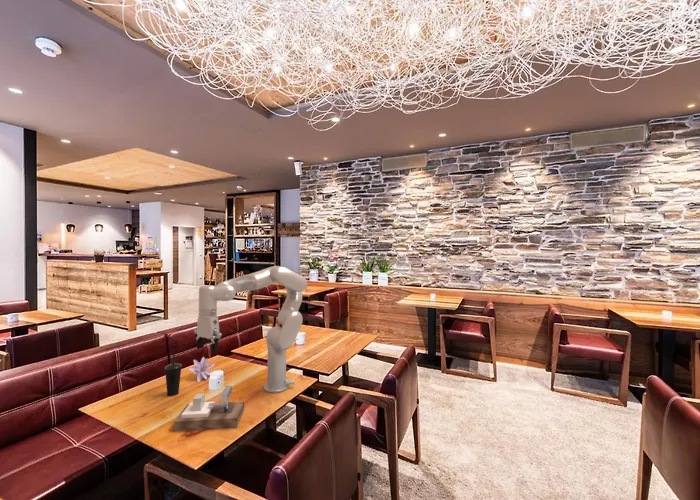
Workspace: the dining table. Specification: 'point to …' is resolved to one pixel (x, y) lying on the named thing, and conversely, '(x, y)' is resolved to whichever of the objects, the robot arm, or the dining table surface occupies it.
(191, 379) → the dining table surface
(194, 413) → the cover
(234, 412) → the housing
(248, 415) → the dining table surface
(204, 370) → the water lily
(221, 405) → the latch
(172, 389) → the drinking cup
